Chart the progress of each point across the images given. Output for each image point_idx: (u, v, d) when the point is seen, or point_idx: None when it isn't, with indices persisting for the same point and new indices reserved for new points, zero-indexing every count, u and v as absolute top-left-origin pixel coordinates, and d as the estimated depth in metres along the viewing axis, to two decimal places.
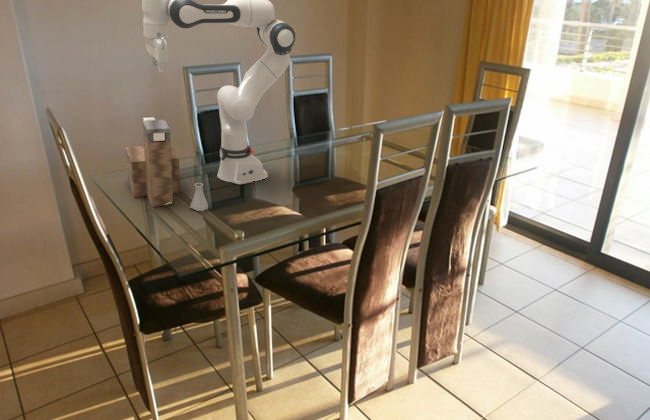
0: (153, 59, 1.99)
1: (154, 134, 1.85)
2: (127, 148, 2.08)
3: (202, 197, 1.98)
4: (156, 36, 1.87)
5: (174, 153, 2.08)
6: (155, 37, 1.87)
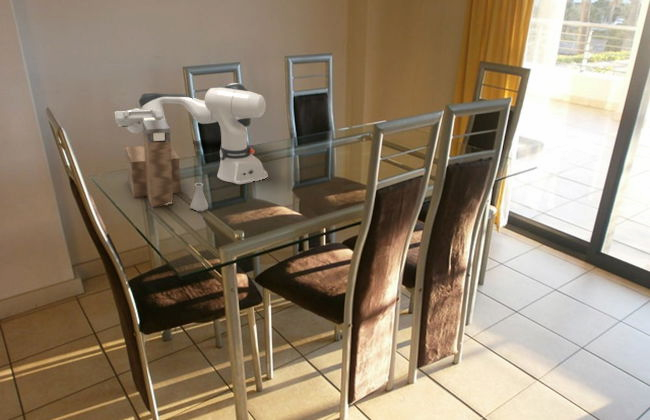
0: None
1: (154, 134, 1.85)
2: (127, 148, 2.08)
3: (202, 197, 1.98)
4: None
5: (174, 153, 2.08)
6: None
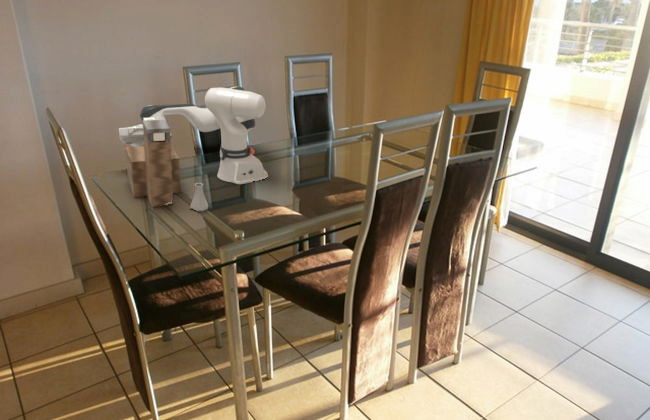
0: None
1: (154, 134, 1.85)
2: (127, 148, 2.08)
3: (202, 197, 1.98)
4: None
5: (174, 153, 2.08)
6: None
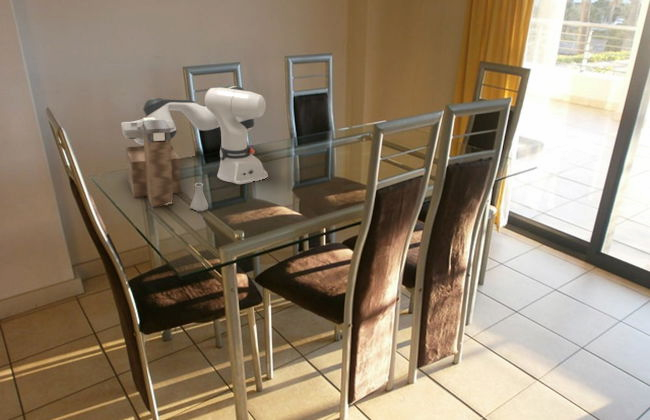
0: None
1: (154, 134, 1.85)
2: (127, 148, 2.08)
3: (202, 197, 1.98)
4: None
5: (174, 153, 2.08)
6: None
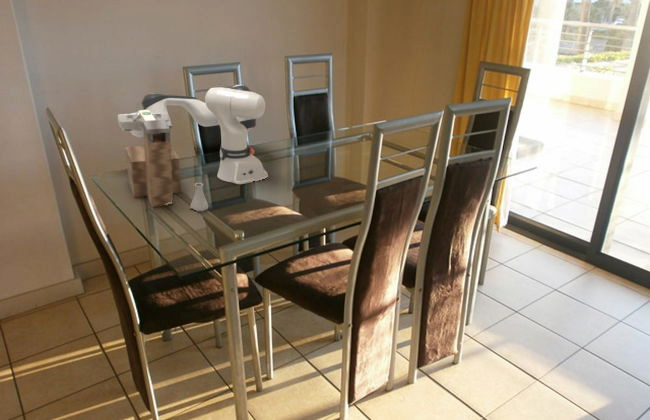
0: None
1: None
2: (127, 148, 2.08)
3: (202, 197, 1.98)
4: None
5: (174, 153, 2.08)
6: None
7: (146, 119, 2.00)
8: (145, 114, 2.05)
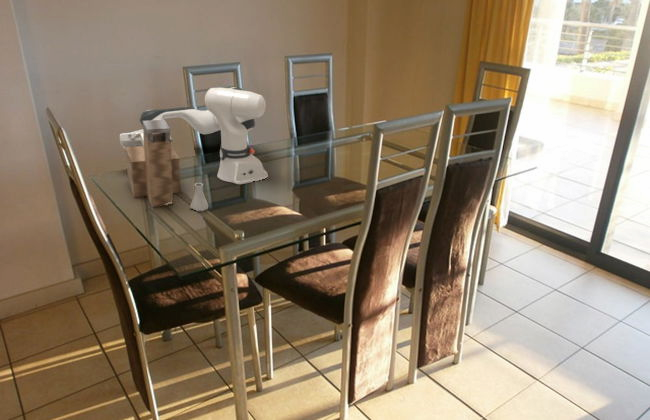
0: None
1: None
2: (127, 148, 2.08)
3: (202, 197, 1.98)
4: None
5: (174, 153, 2.08)
6: None
7: None
8: None
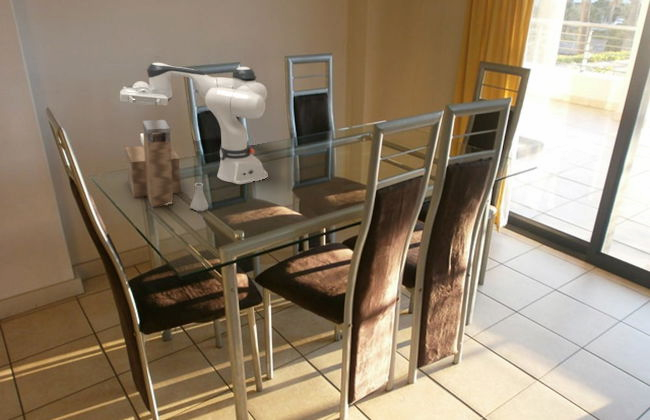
0: None
1: None
2: (127, 148, 2.08)
3: (202, 197, 1.98)
4: None
5: (174, 153, 2.08)
6: (152, 94, 2.35)
7: None
8: None
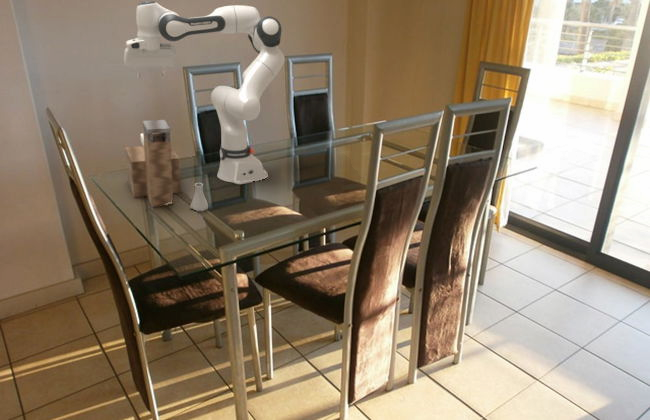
0: (137, 71, 2.13)
1: None
2: (127, 148, 2.08)
3: (202, 197, 1.98)
4: (160, 46, 2.12)
5: (174, 153, 2.08)
6: (160, 47, 2.12)
7: None
8: None
